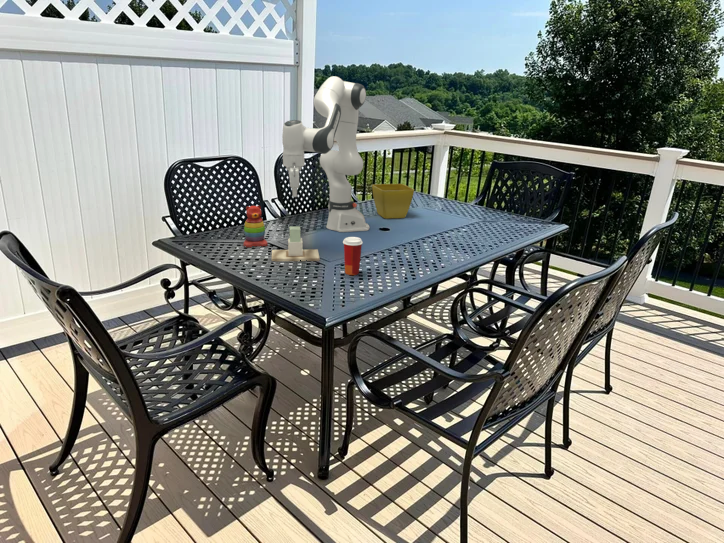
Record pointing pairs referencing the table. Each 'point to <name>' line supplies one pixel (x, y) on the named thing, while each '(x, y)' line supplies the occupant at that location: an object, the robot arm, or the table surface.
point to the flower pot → (392, 199)
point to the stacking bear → (254, 228)
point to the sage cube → (295, 234)
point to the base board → (283, 256)
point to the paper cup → (352, 255)
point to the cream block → (295, 248)
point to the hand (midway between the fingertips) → (294, 194)
